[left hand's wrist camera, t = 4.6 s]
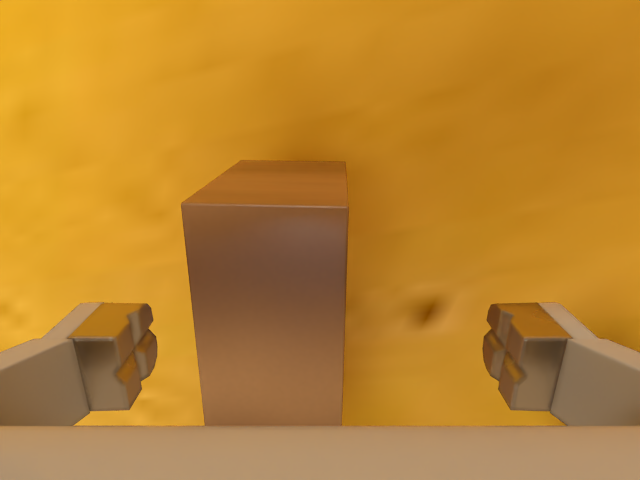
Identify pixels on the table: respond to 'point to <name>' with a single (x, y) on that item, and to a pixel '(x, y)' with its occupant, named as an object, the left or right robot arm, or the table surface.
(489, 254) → the table surface
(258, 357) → the bar
